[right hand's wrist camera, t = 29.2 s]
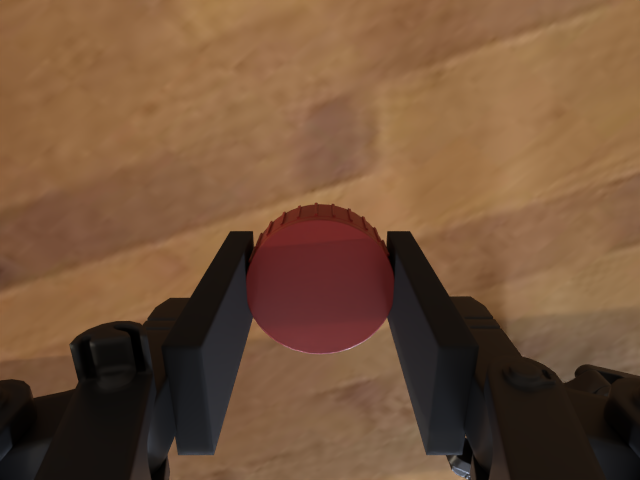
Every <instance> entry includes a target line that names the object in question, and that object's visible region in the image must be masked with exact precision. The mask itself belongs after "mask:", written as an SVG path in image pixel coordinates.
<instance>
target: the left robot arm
mask: <svg viewBox="0 0 640 480" xmlns="http://www.w3.org/2000/svg"><path fill="white" fill-rule="evenodd" d="M575 377H576V378H574V379H573V380H571V381H569V382H567V383H563V382H562V384H563V386H564V387H567V388H571V389H574V390H579V391H584V392H588V393H593V394H598V395H603V396H608V394H609V390H610V387H611V384H612V383H614V382H615V381H616V380H617V379H622V378H639V379H640V376H636V375H632V374H628V373H623V372H619V371H615V370H610V369H606V368H602V367H597V366H593V365H588V364H587V365H582V366H580V367H579V368H578V369H577V370H576V371H575ZM472 455H473V451H472V449H471V446H470V444H469V441H468V439H467V438H465V440H464V446H463V453H462V455H446V456H447V459H448V461H449V464H450V466H451V469H452V470H453V471H454V472H455V473H456V474H457V475H459V476H462V477H465V478H466V479H469V473H470V467H471V461H472Z"/></svg>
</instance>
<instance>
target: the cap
mask: <svg viewBox="0 0 640 480" xmlns="http://www.w3.org/2000/svg"><path fill="white" fill-rule="evenodd" d="M388 256H390V255H389V252H388V250H387V247H386V245H385V242H384V240H382V241H381V238H380V237H379V235H378V232H377V230H376V228H375V227H374V228H373V227H372V226H371V225H370V224H369V223H368V222H367V221H366V220H365V217H363V216H362V217H360V216H359V215H357V214H356V213H354V212H351V209H349V208H348V210H347V209H344V208H341V207H338V206H335V205H334V204H332V205H323V204H318V203H315V205H308V206H303V207H301V205H300V206H298V208H296V209H293V210H291V211H289V212H287V213H286V212H283V215H282V216H280V217H279V218H277V219H276V220H275V221H274V222H272V221H271V222H270V224H269V227H268V228H267V229H266V230H265V231H264V233H261V234H260V236H259V239H258V241H257V244H256V246H255V247H254V249H253V251H252V254H251V256H250V258H249V261H248V263H250V264H249V267H248V270H247V274H246V288H247V302H248V306H249V309H250V311H251V313H252V316H253V317H254V319H255V320H256V322H257V324H258V325H259V326H260V327H261V328H262V330H263V331H264V332H265V333H266V334H268V335H269V336H270V337H271V338H272V339H274V340H275V341H277V342H278V343H280V344H282V345H284V346H286V347H288V348H291V349H293V350H297V351H300V352H305V353H311V354H329V353H336V352H340V351H344V350H347V349H350V348H352V347H355V346H357V345H359V344H360V343H362V342H364V341H365V340H367V339H368V338H369V337H371V336H372V335H373V334H374V333H375V332H376V331H377V330H378V329H379V328H380V327H381V325H382V324H383V323H384V321H385V320H386V318H387V316H388V315H389V312H390V310H391V308H392V304H393V292H394V272H393V269H392V265H391V263H390V260H389V257H388Z"/></svg>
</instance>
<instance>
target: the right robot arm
mask: <svg viewBox="0 0 640 480" xmlns="http://www.w3.org/2000/svg"><path fill="white" fill-rule="evenodd" d="M253 249H254V242H253V231H230V233H229V234H228V236H227V238H226V239H225V241H224V243H223V244H222V246H221V248H220V249H219V251H218V253H217V254H216V256H215V258H214V259H213V261H212V263H211V264H210V266H209V267H208V269H207V271H206V272H205V274H204V276H203V277H202V279H201V281H200V282H199V284H198V286H197V287H196V289H195V291H194V292H193V294H192V296H191V297H190V298H169V299H168V300H166V301H165V302H163V303H162V304H160V305H159V306H157V307H156V308H155V309H154V310H153V312H152V313H151V314H150V316H149V317H148V320H147V321H145V323H144V324H143V325H141V324H140V323H136V322H132V321H115V322H110V323H105V324H101V325H99V326H96V327H93V328H91V329H88V330H86V331H85V332H83V333H82V334H80V335H78V336H77V337H76V338H75V339H74V340H73V341H72V342H71V343H70V344H69V345H70V349H71V353H72V357H73V361H74V365H75V369H76V373H77V377H78V381H79V382H78V384H77V386H76V389H73V390H69V391H66V392H61V393H56V394H51V395H46V396H42V397H37V398H33V396H32V392H31V389H30V386H29V385H27V384H26V383H25V382H24V381H19V380H13V379H10V380H1V381H0V480H169V477H170V468H169V461H168V455H167V454H168V451H169V449H170V447H171V444H172V442H173V439H174V437H175V438H176V445H177V451H178V455H214V453H215V449H216V446H217V442H218V439H219V435H220V432H221V428H222V424H223V421H224V417H225V414H226V410H227V407H228V403H229V400H230V396H231V393H232V389H233V386H234V382H235V379H236V375H237V372H238V368H239V365H240V361H241V358H242V354H243V351H244V347H245V344H246V340H247V337H248V333H249V330H250V326H251V323H252V319H253V316H252V313H251V311H250V309H249V306H248V302H247V288H246V274H247V270H248V267H249V264H250V263H248V261H249V258H250V256H251V254H252V251H253ZM387 250H388V252H389V255H390V256H388V257H389V260H390V263H391V265H392V269H393V272H394V292H393V304H392V308H391V310H390V312H389V315H388V316H387V318H388V322H389V325H390V329H391V332H392V336H393V339H394V343H395V346H396V350H397V353H398V357H399V360H400V364H401V367H402V371H403V374H404V378H405V381H406V385H407V388H408V392H409V395H410V399H411V402H412V406H413V409H414V413H415V416H416V420H417V424H418V427H419V431H420V434H421V438H422V441H423V445H424V448H425V452H426V455H462V453H463V446H464V440H465V434H466V436H467V439H468V441H469V444H470V446H471V449H472V451H473V455H472V461H471V467H470V473H469V479H468V480H640V379H639V378H622V379H617V380H616V381H615V382H614V383H612V384H611V387H610V390H609V394H608V396H603V395H598V394H593V393H588V392H584V391H579V390H574V389H571V388H567V387H564V386H563V384H562V381H561V380H560V379H559V377H558V376H557V375H556V373H555V372H553V371H552V370H551V369H549V368H548V367H546V366H545V365H543V364H541V363H539V362H537V361H534V360H532V359H529V358H525V357H522V356H521V354H520V353H519V352H518V350H517V349H516V348H515V346H514V345H513V344H512V342H511V341H510V339H509V338H508V337H507V335H506V334H505V333H504V331H503V330H502V329H500V326H499V325H498V323H497V322H496V320H495V319H493V316H492V315H491V314H490V312H489V311H488V310H487V308H486V307H485V306H484V305H483V304H481V303H479V302H478V301H476V300H475V299H473V298H472V297H449V295H448V294H447V292H446V290H445V289H444V287H443V285H442V284H441V282H440V280H439V279H438V277H437V275H436V274H435V272H434V270H433V269H432V267H431V265H430V264H429V262H428V260H427V259H426V257H425V255H424V254H423V252H422V250H421V249H420V247H419V245H418V244H417V242H416V240H415V239H414V237H413V235H412V234H411V232H410V231H387Z"/></svg>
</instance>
